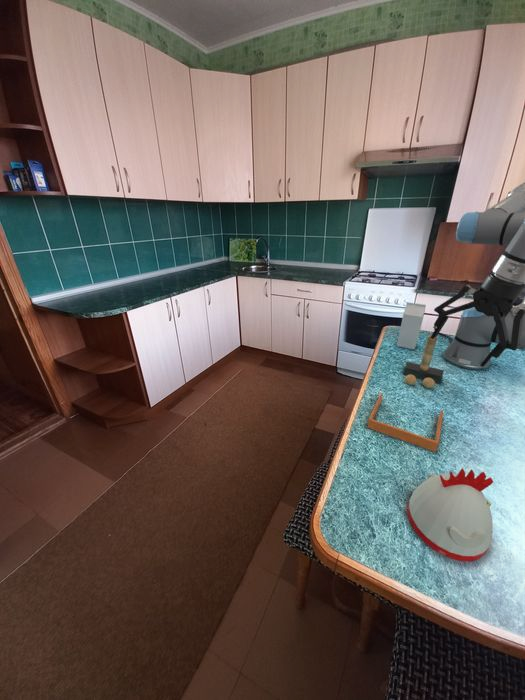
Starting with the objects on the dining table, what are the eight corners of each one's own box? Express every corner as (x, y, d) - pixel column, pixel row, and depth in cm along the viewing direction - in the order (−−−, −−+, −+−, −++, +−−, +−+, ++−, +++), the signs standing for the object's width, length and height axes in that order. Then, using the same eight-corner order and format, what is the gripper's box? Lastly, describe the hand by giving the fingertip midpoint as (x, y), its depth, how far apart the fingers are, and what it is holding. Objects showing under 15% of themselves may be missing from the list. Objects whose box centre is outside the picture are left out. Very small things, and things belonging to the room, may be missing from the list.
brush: (405, 368, 110) (414, 329, 103) (441, 377, 104) (454, 336, 97) (403, 374, 106) (412, 334, 99) (440, 383, 101) (453, 342, 93)
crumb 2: (422, 383, 101) (424, 374, 100) (433, 386, 99) (436, 377, 98) (420, 388, 99) (423, 379, 97) (432, 391, 97) (435, 382, 95)
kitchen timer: (503, 568, 51) (539, 514, 44) (418, 554, 53) (440, 501, 46) (467, 496, 63) (491, 445, 56) (400, 487, 65) (415, 437, 58)
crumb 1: (404, 380, 103) (406, 371, 101) (415, 383, 101) (418, 374, 100) (403, 385, 100) (405, 376, 99) (414, 388, 99) (416, 379, 97)
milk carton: (414, 350, 123) (424, 307, 114) (396, 346, 127) (405, 304, 118) (416, 343, 128) (427, 302, 120) (399, 340, 132) (408, 300, 123)
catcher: (379, 400, 93) (381, 392, 92) (440, 418, 85) (443, 410, 83) (367, 427, 82) (368, 419, 81) (435, 452, 74) (438, 443, 72)
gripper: (448, 259, 71) (409, 330, 84) (572, 306, 57) (502, 383, 70) (460, 255, 75) (421, 323, 88) (578, 299, 61) (511, 372, 74)
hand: (457, 350), depth 79 cm, fingers open, 13 cm apart
